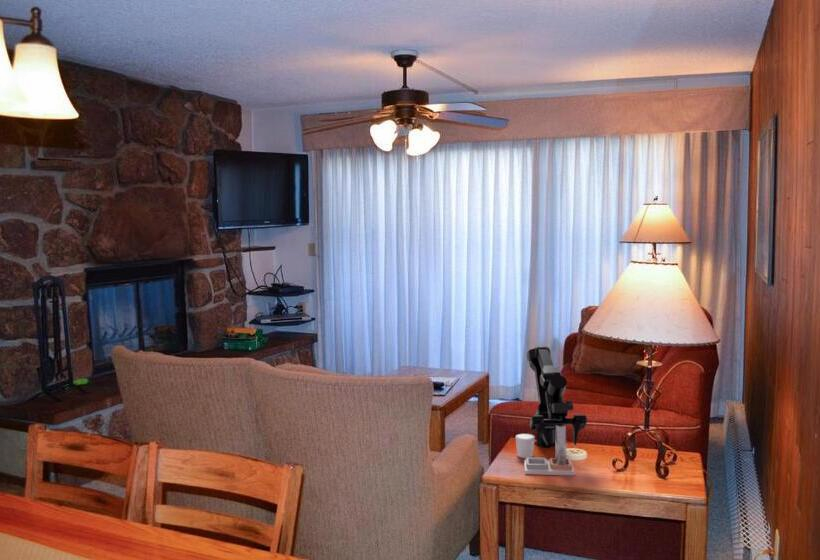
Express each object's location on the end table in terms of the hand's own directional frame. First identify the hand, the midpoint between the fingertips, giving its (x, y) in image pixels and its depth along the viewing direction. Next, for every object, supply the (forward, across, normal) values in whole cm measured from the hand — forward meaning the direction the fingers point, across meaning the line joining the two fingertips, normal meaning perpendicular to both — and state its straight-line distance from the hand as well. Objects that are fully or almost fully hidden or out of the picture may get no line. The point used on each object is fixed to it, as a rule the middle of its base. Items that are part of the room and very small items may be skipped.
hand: (561, 444), depth 246 cm
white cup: (-5, -10, +18) cm, 21 cm away
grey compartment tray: (+5, -4, +8) cm, 10 cm away
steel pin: (+4, 0, +7) cm, 8 cm away
